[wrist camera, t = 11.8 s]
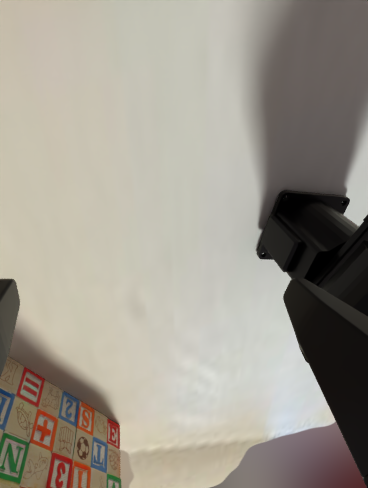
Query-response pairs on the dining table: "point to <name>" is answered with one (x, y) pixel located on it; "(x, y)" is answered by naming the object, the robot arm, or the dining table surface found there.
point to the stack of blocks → (53, 436)
